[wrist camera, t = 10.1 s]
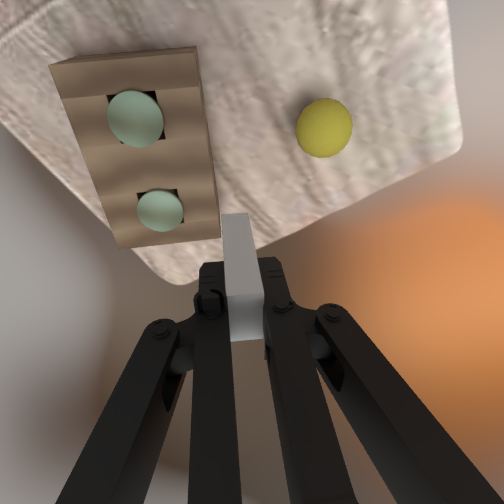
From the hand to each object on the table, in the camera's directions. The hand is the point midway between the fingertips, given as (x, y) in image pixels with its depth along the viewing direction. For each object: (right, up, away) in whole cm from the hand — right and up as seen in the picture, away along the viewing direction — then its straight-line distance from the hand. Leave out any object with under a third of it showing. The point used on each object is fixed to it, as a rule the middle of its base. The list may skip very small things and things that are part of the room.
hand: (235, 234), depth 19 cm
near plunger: (-12, +18, +22) cm, 31 cm away
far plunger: (-11, +9, +29) cm, 32 cm away
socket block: (-12, +14, +26) cm, 31 cm away
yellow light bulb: (+9, +18, +26) cm, 32 cm away
